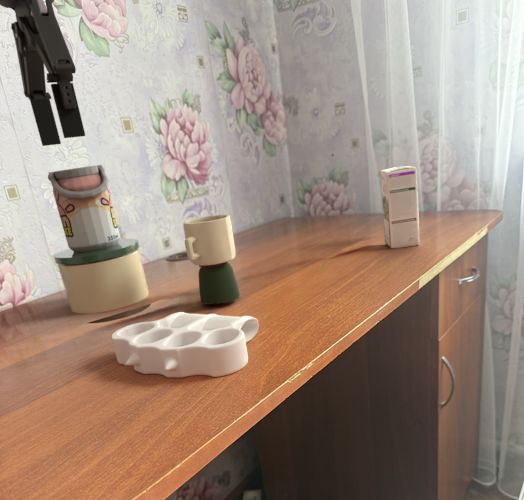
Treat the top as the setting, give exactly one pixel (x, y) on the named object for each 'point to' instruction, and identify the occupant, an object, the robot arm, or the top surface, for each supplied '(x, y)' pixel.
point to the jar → (104, 279)
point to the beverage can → (85, 208)
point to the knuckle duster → (186, 344)
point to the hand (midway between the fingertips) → (62, 141)
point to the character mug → (212, 257)
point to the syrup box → (400, 206)
